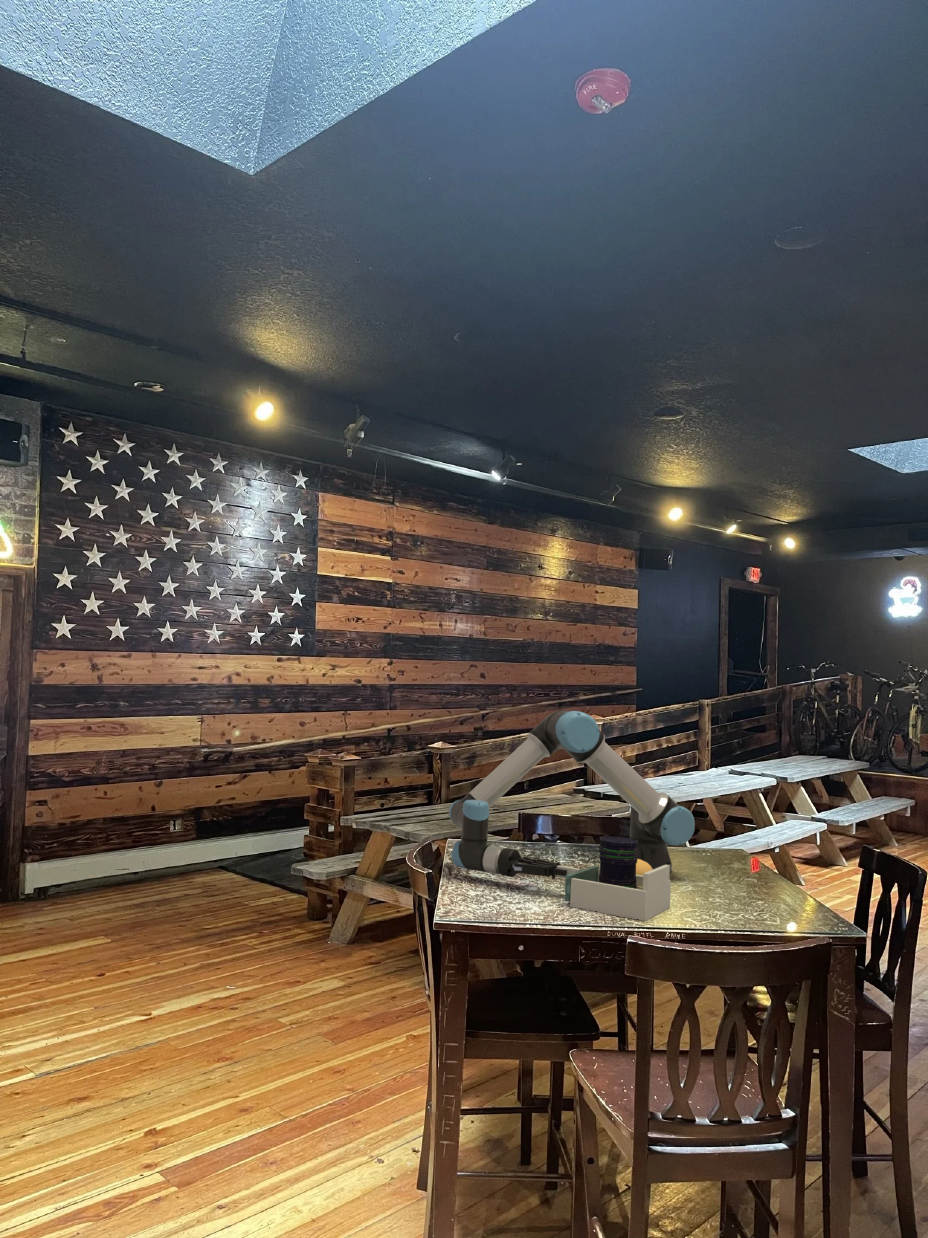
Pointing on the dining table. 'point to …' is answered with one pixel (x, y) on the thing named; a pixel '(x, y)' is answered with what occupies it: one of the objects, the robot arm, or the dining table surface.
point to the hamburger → (642, 867)
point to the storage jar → (618, 861)
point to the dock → (625, 895)
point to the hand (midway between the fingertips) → (579, 874)
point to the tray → (584, 874)
